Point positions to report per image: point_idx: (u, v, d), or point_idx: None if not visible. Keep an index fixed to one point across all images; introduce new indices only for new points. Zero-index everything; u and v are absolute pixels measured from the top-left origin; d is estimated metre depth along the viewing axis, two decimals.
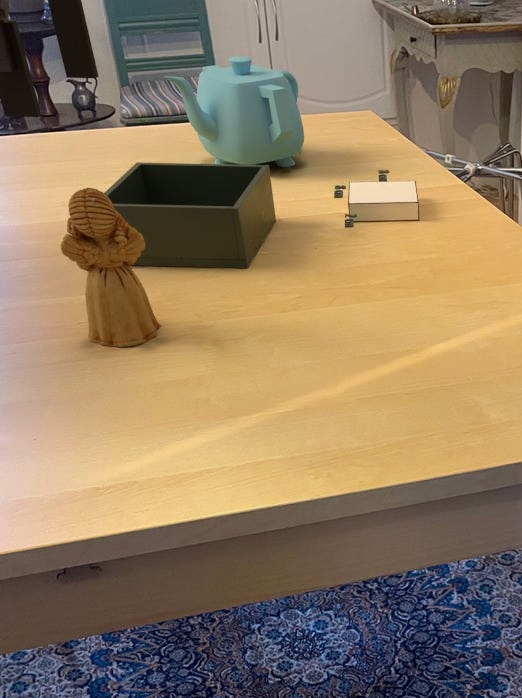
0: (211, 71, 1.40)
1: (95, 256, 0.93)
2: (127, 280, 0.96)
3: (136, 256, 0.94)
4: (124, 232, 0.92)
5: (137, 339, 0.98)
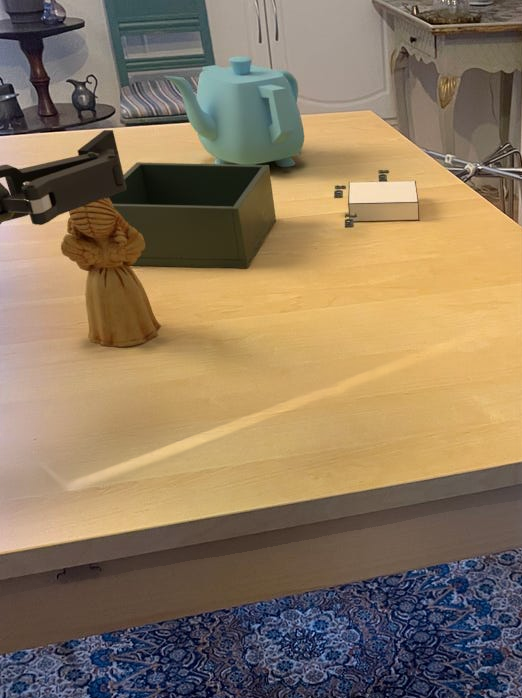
0: (211, 71, 1.40)
1: (95, 256, 0.93)
2: (127, 280, 0.96)
3: (136, 256, 0.94)
4: (124, 232, 0.92)
5: (137, 339, 0.98)
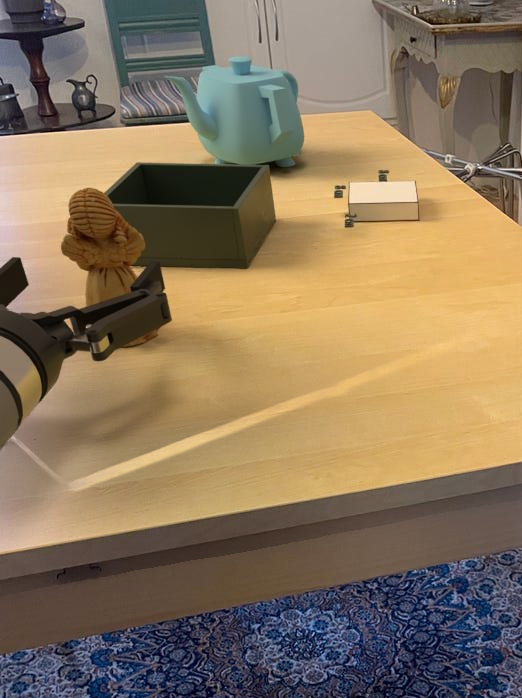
0: (211, 71, 1.40)
1: (95, 256, 0.93)
2: (127, 280, 0.96)
3: (136, 256, 0.94)
4: (124, 232, 0.92)
5: (137, 339, 0.98)
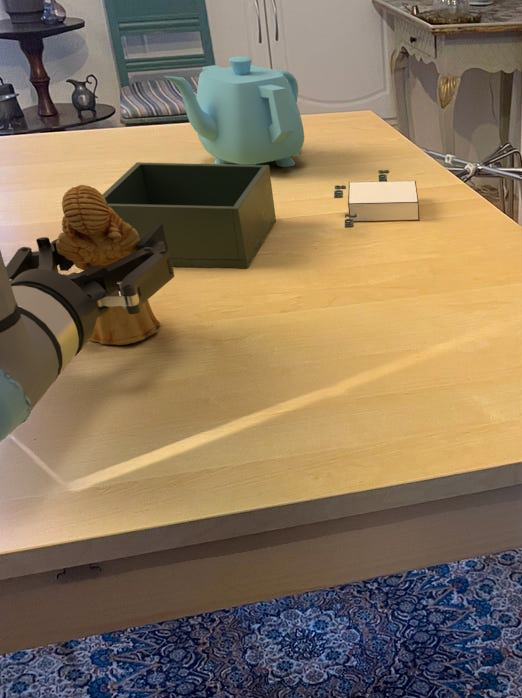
0: (211, 71, 1.40)
1: (91, 254, 0.93)
2: None
3: (131, 252, 0.94)
4: (118, 228, 0.92)
5: (136, 336, 0.98)
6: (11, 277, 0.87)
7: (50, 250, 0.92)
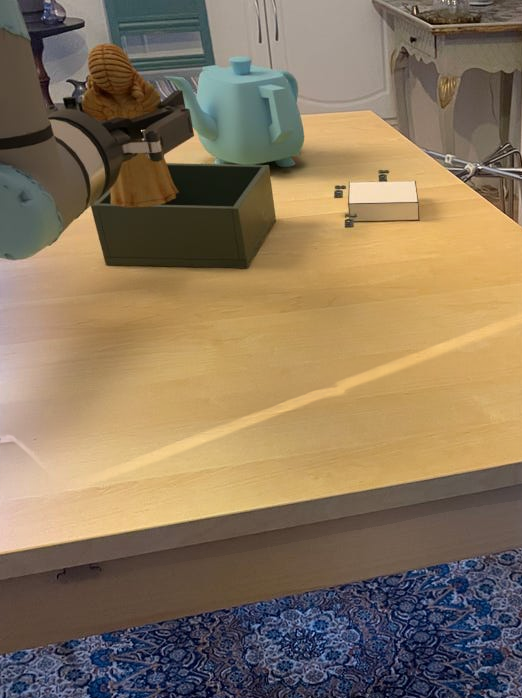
0: (211, 71, 1.40)
1: (114, 113, 0.97)
2: None
3: None
4: (141, 88, 0.96)
5: (156, 199, 1.02)
6: None
7: (76, 108, 0.96)
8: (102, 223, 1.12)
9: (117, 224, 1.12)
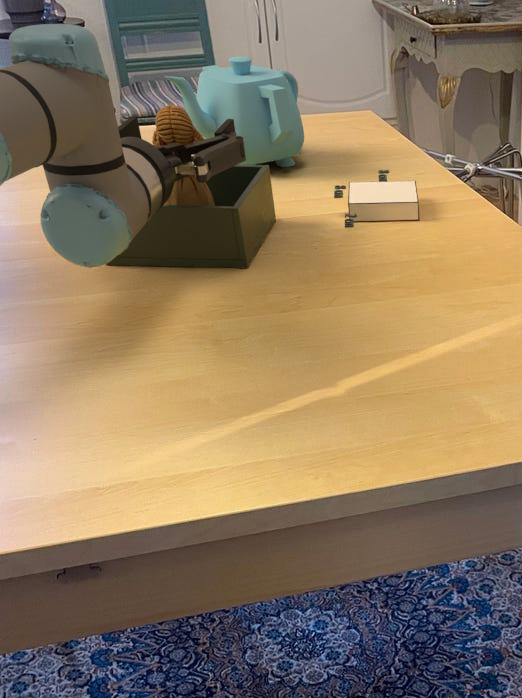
0: (211, 71, 1.40)
1: None
2: (199, 185, 1.16)
3: None
4: None
5: None
6: None
7: None
8: None
9: None
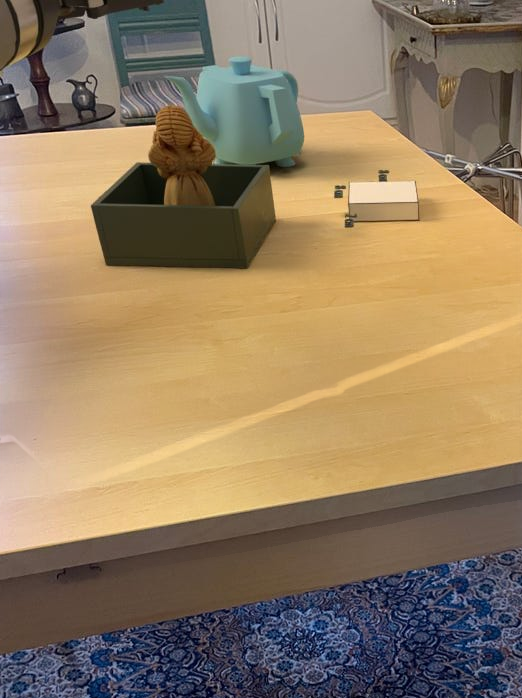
0: (211, 71, 1.40)
1: (175, 163, 1.13)
2: (199, 186, 1.16)
3: (208, 164, 1.14)
4: (199, 143, 1.12)
5: None
6: None
7: None
8: (102, 223, 1.12)
9: (117, 224, 1.12)
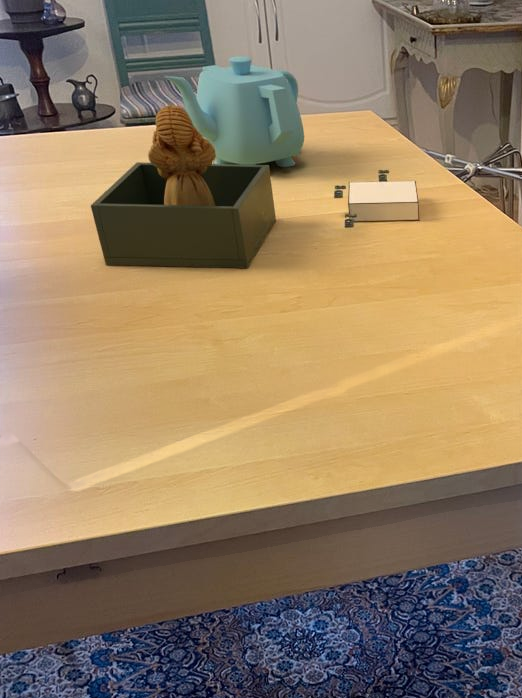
0: (211, 71, 1.40)
1: (175, 163, 1.13)
2: (199, 186, 1.16)
3: (208, 164, 1.14)
4: (199, 143, 1.12)
5: None
6: None
7: None
8: (102, 223, 1.12)
9: (117, 224, 1.12)
